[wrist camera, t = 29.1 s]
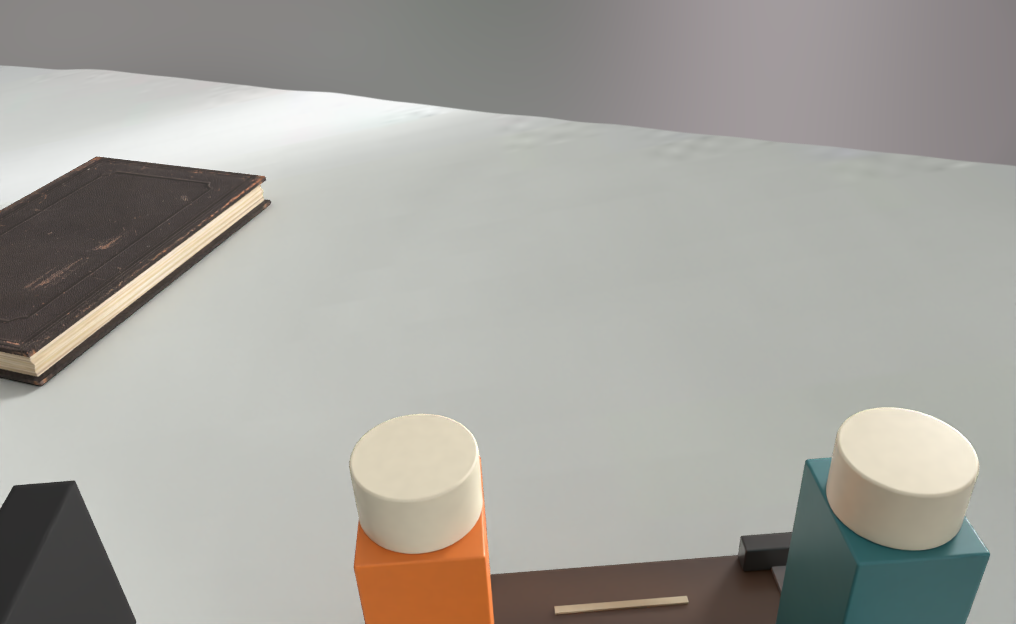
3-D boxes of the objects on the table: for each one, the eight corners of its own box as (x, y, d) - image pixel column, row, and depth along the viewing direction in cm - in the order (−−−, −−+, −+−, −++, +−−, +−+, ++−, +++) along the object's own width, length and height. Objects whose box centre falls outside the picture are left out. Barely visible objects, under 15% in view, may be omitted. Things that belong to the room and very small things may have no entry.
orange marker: (502, 750, 28) (481, 502, 22) (392, 759, 28) (342, 513, 22) (495, 643, 32) (476, 403, 26) (397, 651, 32) (355, 411, 26)
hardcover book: (271, 204, 66) (265, 175, 65) (41, 386, 49) (27, 352, 47) (99, 182, 71) (90, 155, 70) (-167, 340, 53) (-185, 308, 52)
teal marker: (919, 752, 28) (1012, 497, 22) (808, 762, 28) (871, 508, 22) (868, 643, 31) (936, 396, 25) (769, 651, 31) (814, 405, 25)
